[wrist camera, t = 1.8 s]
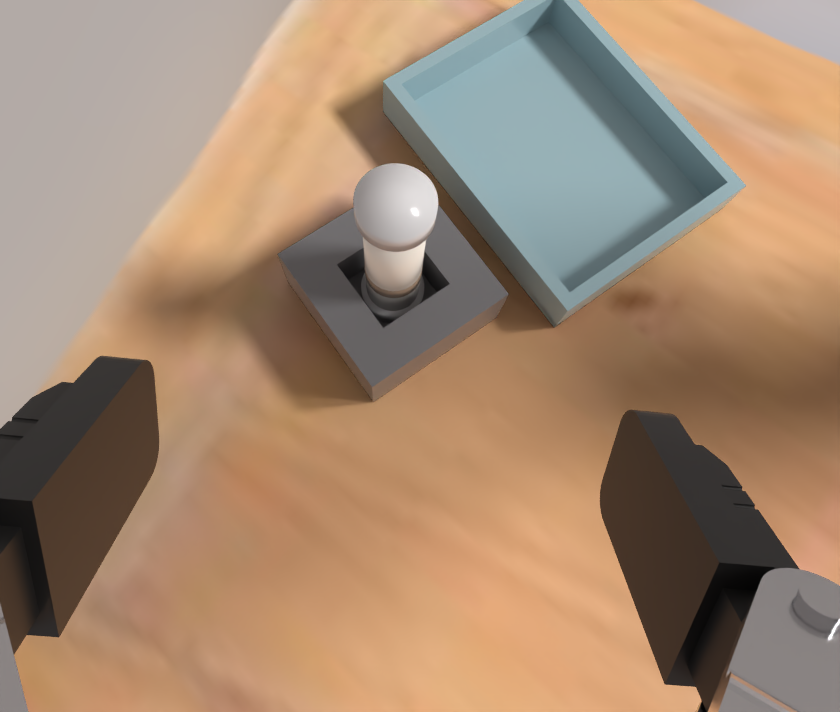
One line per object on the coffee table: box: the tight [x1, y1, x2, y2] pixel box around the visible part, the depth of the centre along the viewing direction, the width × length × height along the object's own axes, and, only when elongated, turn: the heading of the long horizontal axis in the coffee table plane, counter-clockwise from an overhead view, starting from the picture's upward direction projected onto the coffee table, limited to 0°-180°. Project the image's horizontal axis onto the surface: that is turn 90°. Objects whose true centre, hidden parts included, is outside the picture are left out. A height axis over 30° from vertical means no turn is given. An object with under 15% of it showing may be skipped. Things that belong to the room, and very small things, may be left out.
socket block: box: [278, 205, 509, 402], centre depth 37 cm, size 9×9×4 cm
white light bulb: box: [353, 163, 438, 323], centre depth 33 cm, size 4×4×11 cm
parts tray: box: [383, 0, 746, 327], centre depth 41 cm, size 14×18×3 cm
